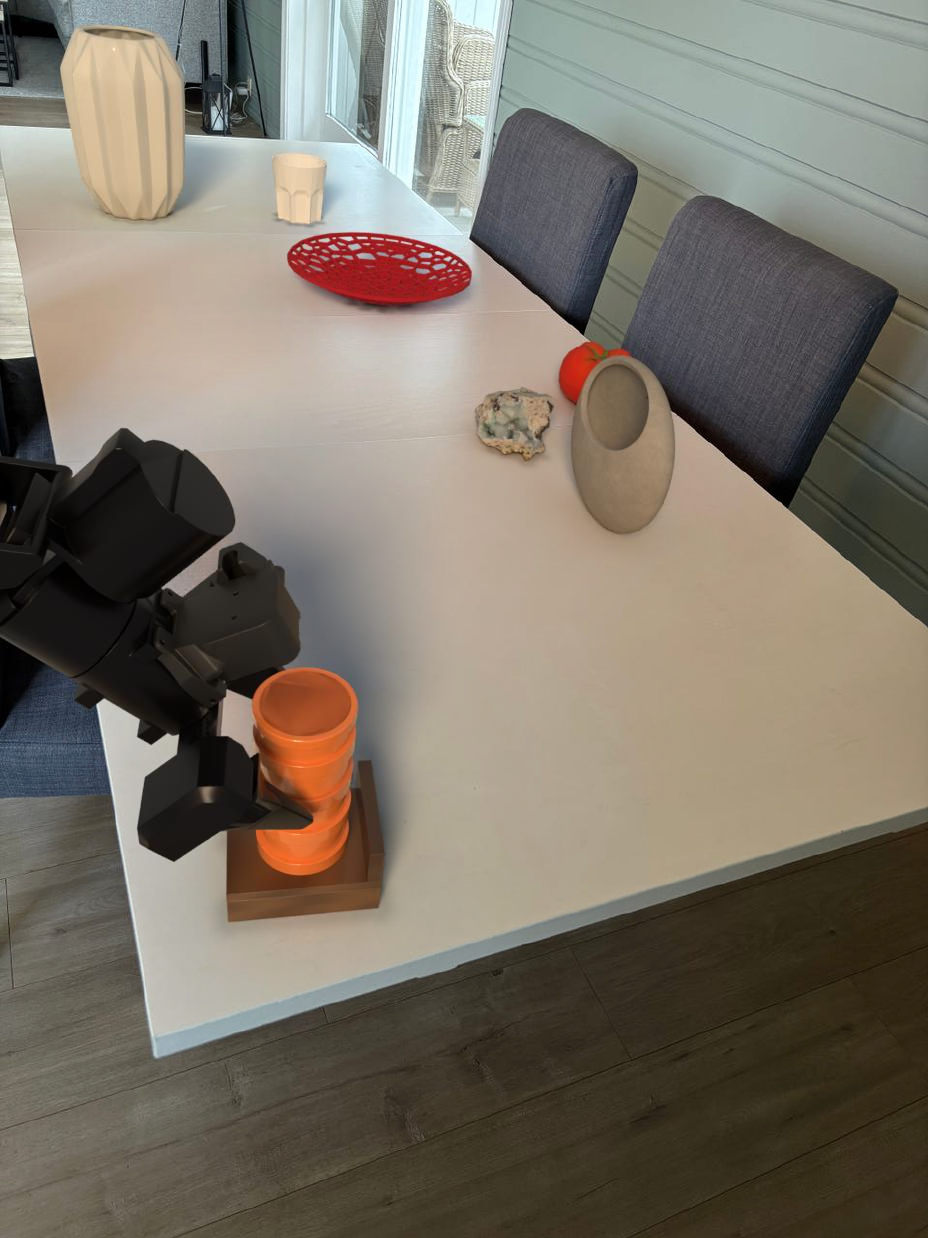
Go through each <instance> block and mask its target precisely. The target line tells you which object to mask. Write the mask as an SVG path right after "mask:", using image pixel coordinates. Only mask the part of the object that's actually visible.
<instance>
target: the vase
mask: <svg viewBox="0 0 928 1238" xmlns="http://www.w3.org/2000/svg"><path fill="white" fill-rule="evenodd" d="M59 69H60V70H59V71H60V77H61V83H62V89H63V95H64V96H63V97H64V102H65V108H66V112H67V117H68V122H69V127H70V132H71V137H72V142H73V147H74V152H75V157H76V161H77V166H78V169H79V175H80V179H81V181H82V183H83V184H84V186H85V187H86V188H87V190H88V191H89V193H90V194H91V196H92V197H93V199H94V200H95V201H96V203H97V205H98V206H99V207H100V208H101V209H102V211H103V212H104V213H105V214H109V215H113V216H114V217H115V218H119V219H127V220H131V221H138V220H139V221H141V220H142V221H143V220H144V221H153V220H156V219H162V218H166V217H167V216H168V214H172V213H173V211H174V208H175V207H176V205H177V202H178V200H179V197H180V195H181V193H182V191H183V185H184V183H185V176H186V167H185V166H186V96H185V77H184V73H183V71H182V69H181V67H180V65H179V63H178V61H177V59H176V58H175V56H174V54H173V52H172V51H171V49H170V47H169V45H168V43H167V42H166V40H165V39H164V38H163V37H162V36H161V35H160V34H159V33H158V32H153V31H149V30H146V29H144V28H137V27H135V28H134V27H129V26H126V25H111V24H97V25H92V24H86V25H82V26H78V27H75V28H74V29H73V31H72V33H71V37H70V39H69V41H68V44H67V47H66V49H65V52H64V55H63V57H62V60H61V64H60V67H59Z"/></svg>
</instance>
